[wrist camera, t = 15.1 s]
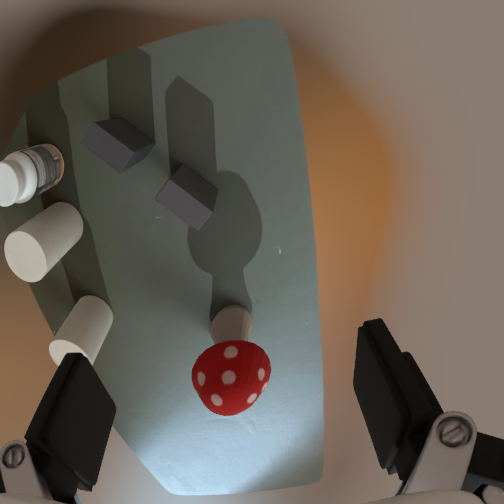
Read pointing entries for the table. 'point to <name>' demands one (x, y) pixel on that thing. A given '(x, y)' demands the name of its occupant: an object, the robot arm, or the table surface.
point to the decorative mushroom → (231, 365)
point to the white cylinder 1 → (43, 241)
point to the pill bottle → (29, 173)
